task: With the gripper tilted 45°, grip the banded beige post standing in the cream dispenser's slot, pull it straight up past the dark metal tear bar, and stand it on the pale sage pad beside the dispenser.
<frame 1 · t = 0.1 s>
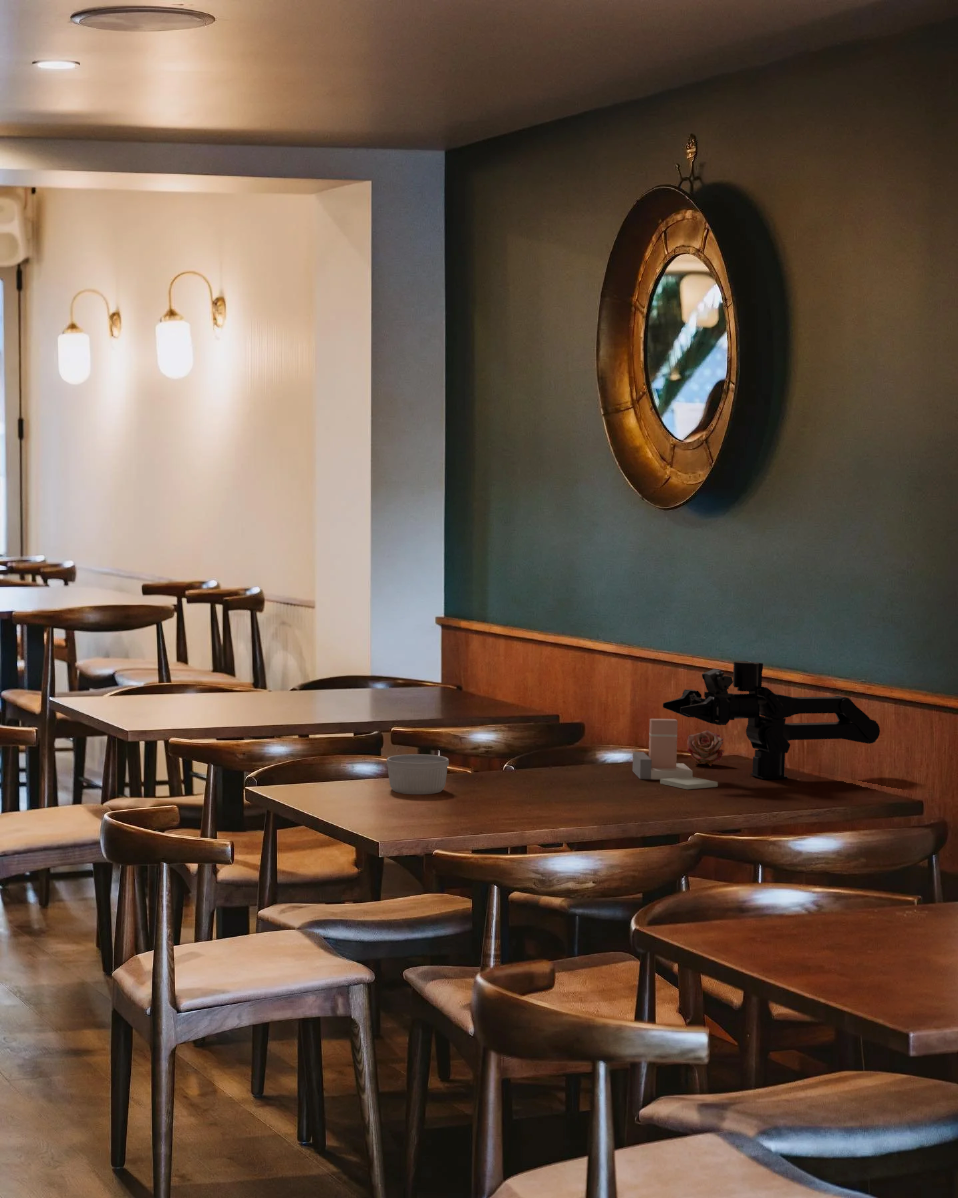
hand: (671, 707, 367), 17 cm above the table, tool horizontal, fingers open, 9 cm apart
pad: (688, 785, 362), on the table
flower: (704, 765, 394), on the table
ramekin: (416, 791, 345), on the table
banded beige post: (662, 775, 375), resting in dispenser
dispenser: (662, 775, 375), on the table
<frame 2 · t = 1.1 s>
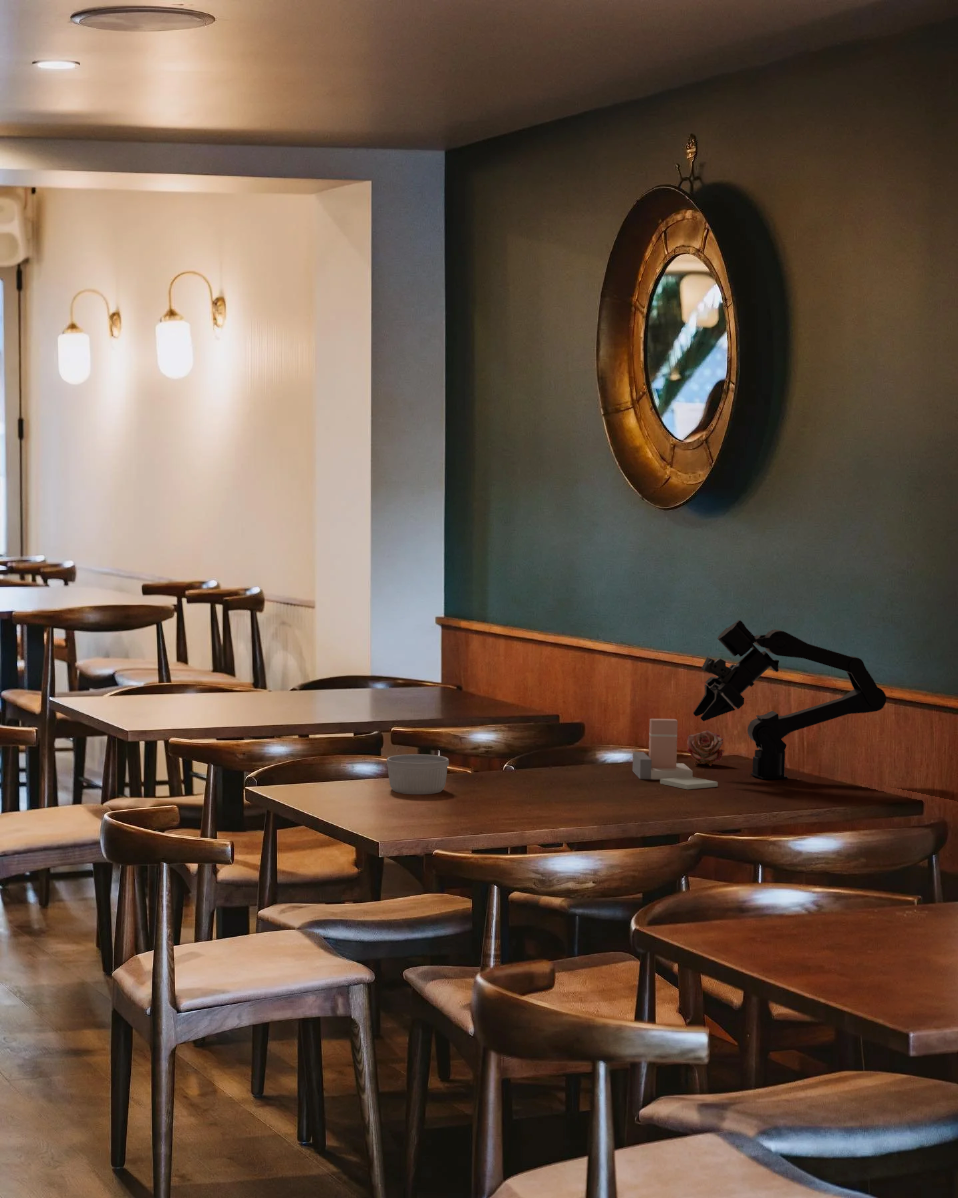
hand: (698, 717, 374), 14 cm above the table, tool tilted 45°, fingers open, 9 cm apart
nothing on the table moved.
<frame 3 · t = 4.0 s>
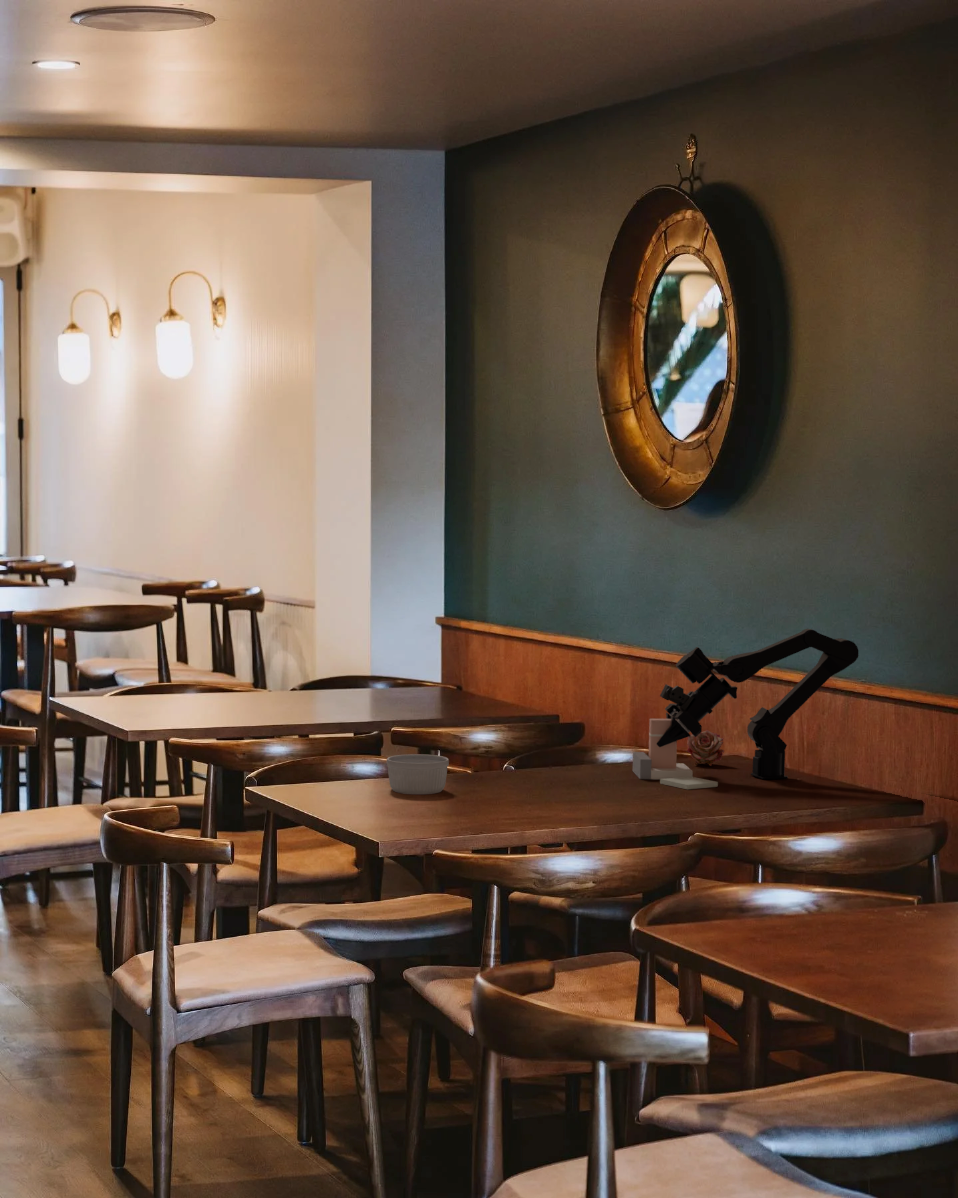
hand: (656, 744, 374), 7 cm above the table, tool tilted 45°, fingers closed on banded beige post, 3 cm apart
banded beige post: (662, 775, 375), resting in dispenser, touching gripper
everything else where it was.
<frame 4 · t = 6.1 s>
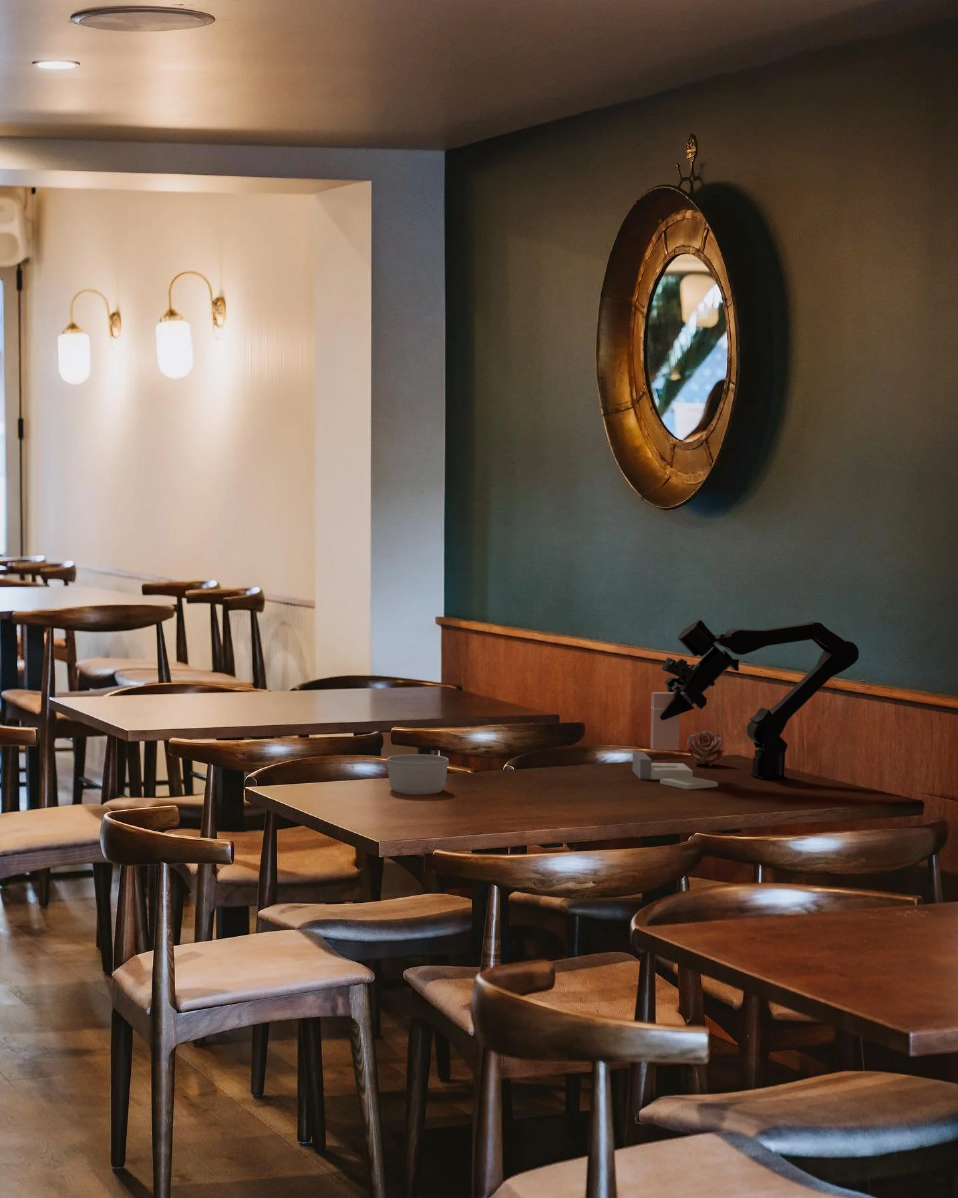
hand: (659, 718, 372), 14 cm above the table, tool tilted 45°, fingers closed on banded beige post, 3 cm apart
banded beige post: (664, 749, 373), point 6 cm above the table, touching gripper
everything else where it was.
when the fingers open (9 cm above the table, at t = 8.3 s): banded beige post drops 1 cm, resting on pad.
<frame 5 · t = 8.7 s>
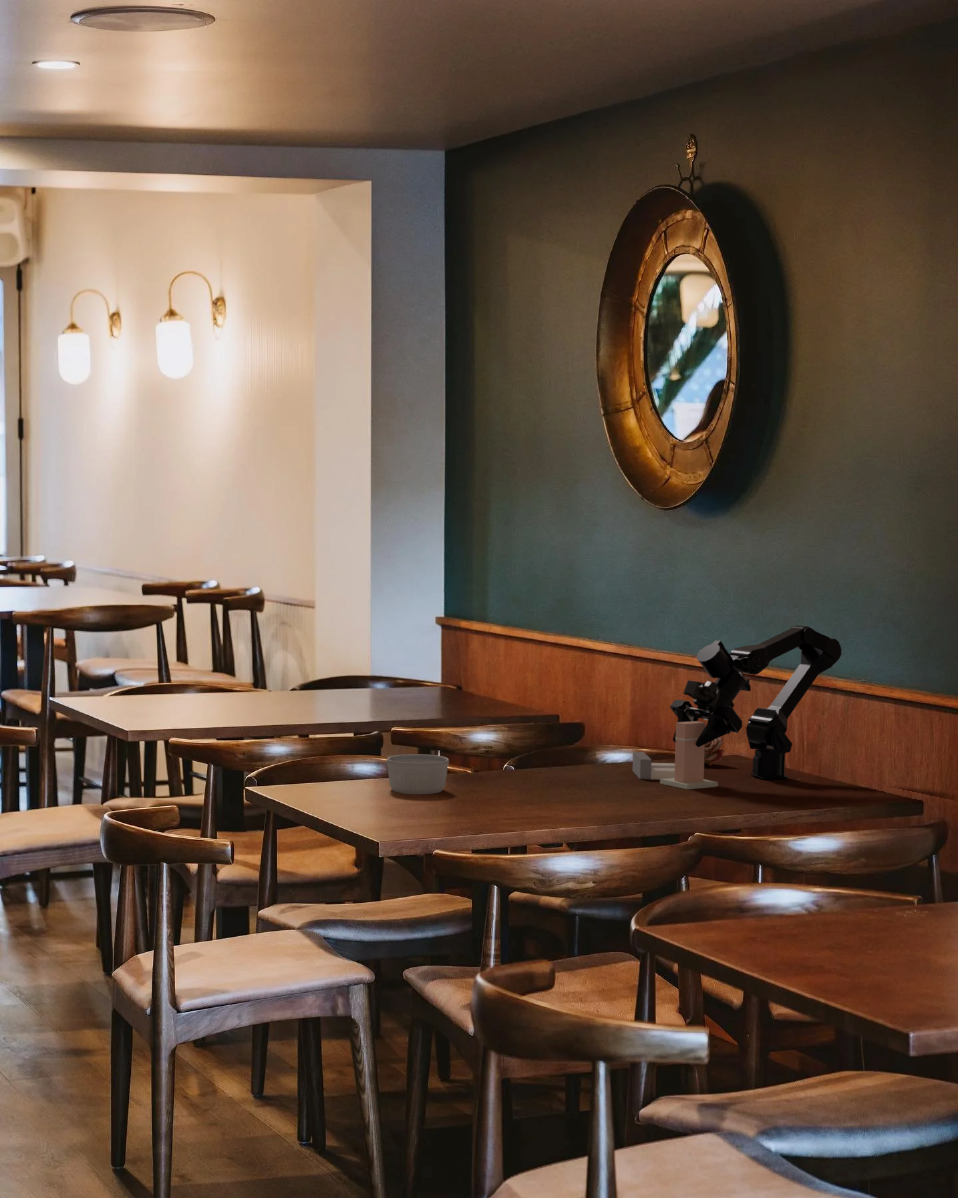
hand: (685, 743, 360), 9 cm above the table, tool tilted 45°, fingers open, 7 cm apart
banded beige post: (688, 780, 361), point 1 cm above the table, touching pad
everything else where it was.
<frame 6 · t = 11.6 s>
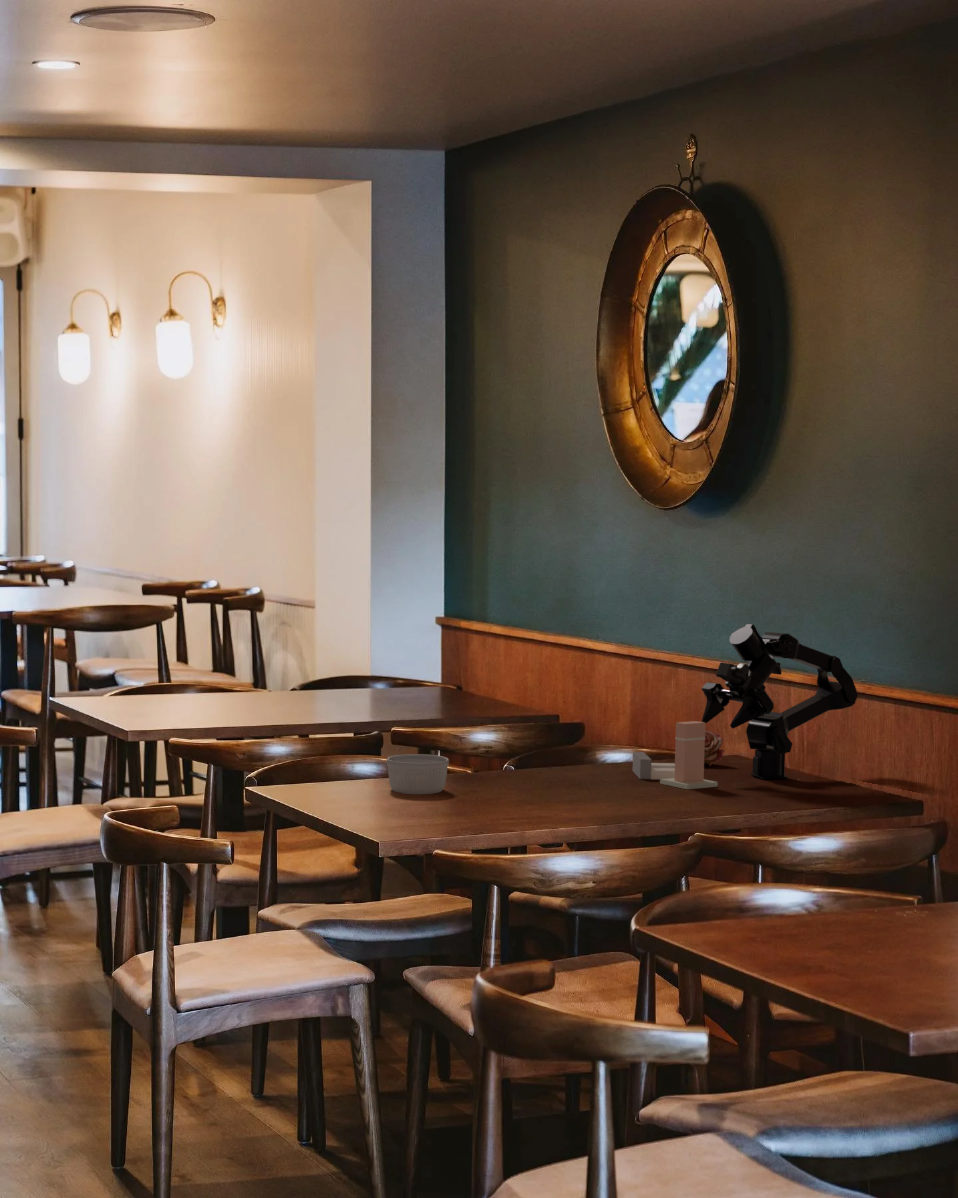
hand: (717, 724, 365), 13 cm above the table, tool tilted 45°, fingers open, 9 cm apart
nothing on the table moved.
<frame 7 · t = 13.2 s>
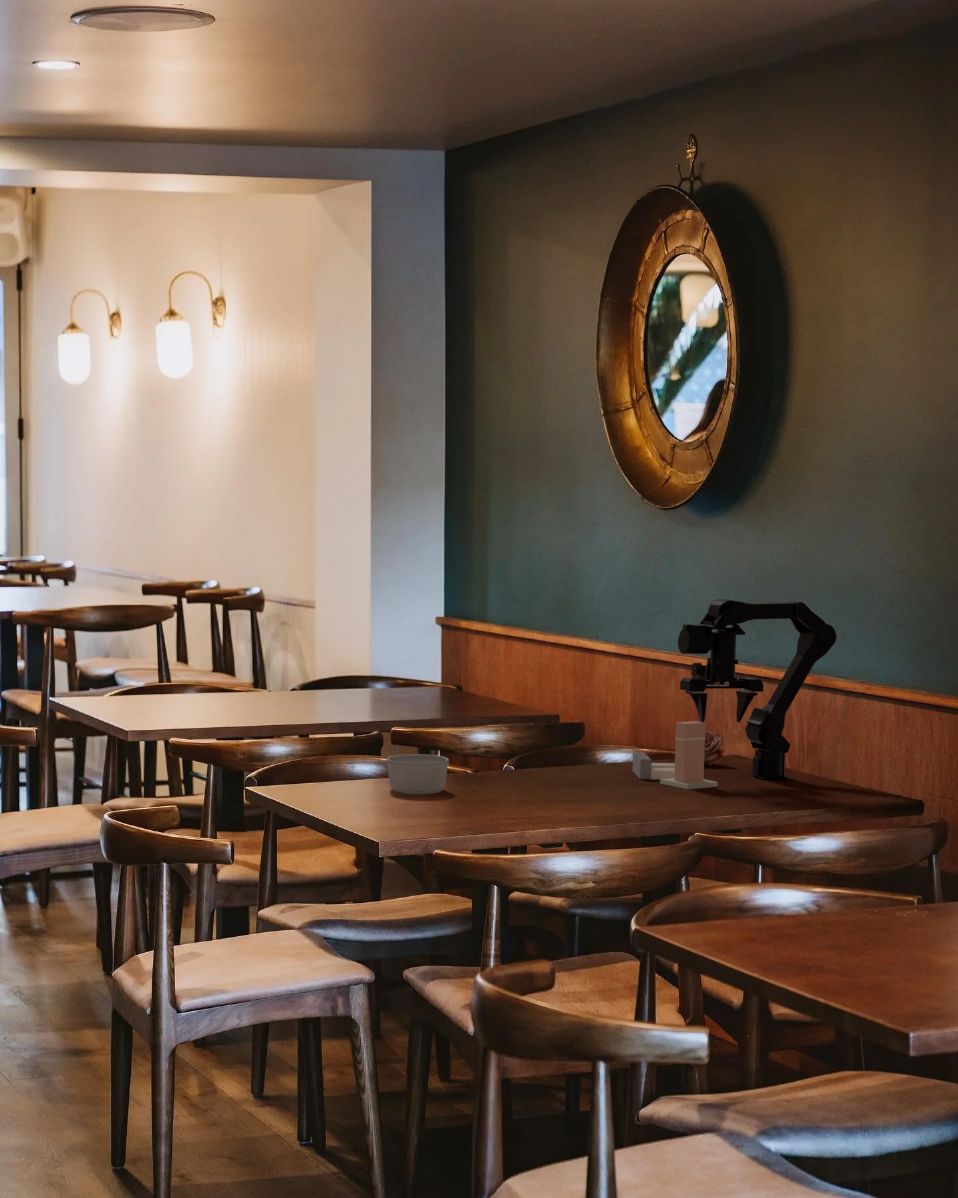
hand: (720, 722, 371), 13 cm above the table, tool pointing down, fingers open, 9 cm apart
nothing on the table moved.
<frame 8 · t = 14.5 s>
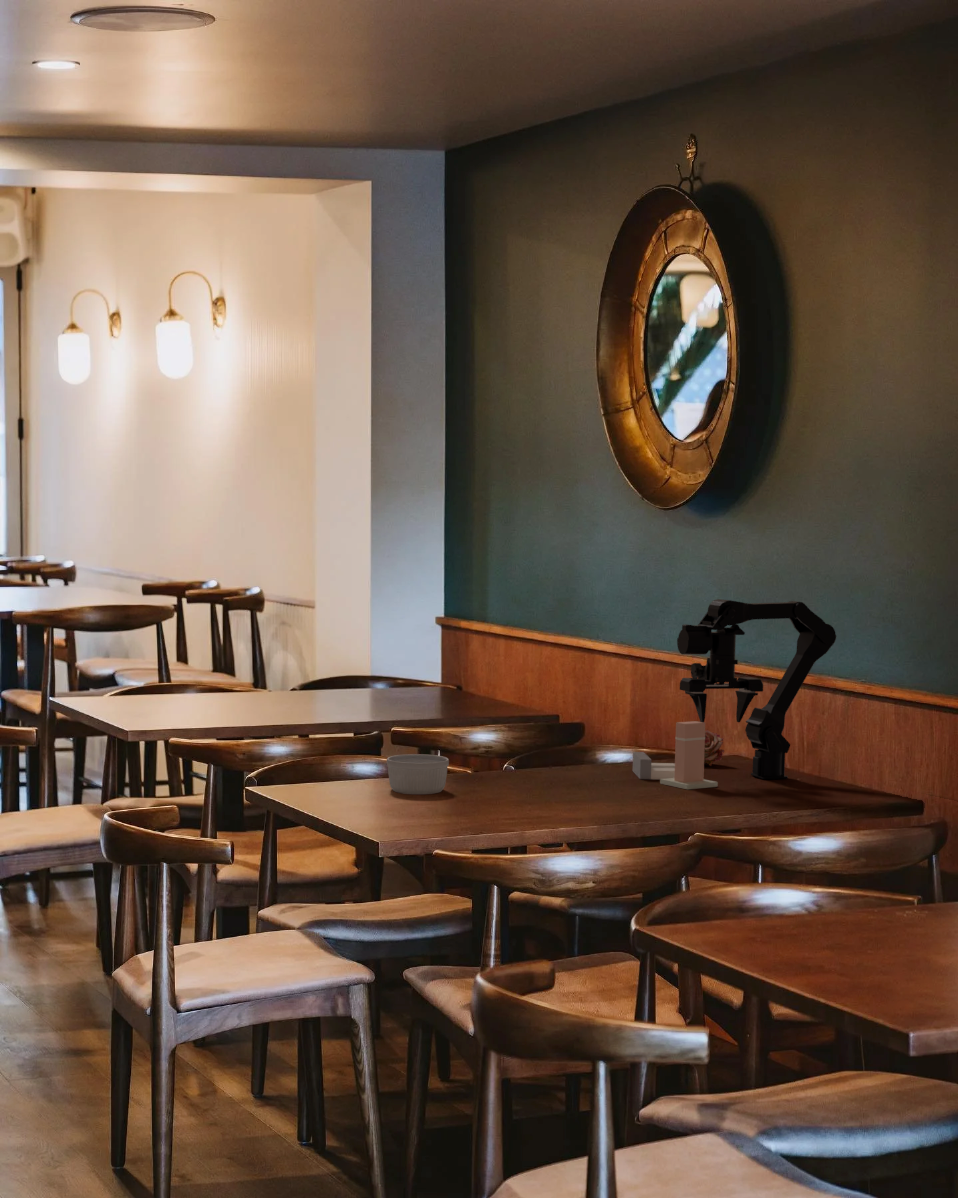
hand: (720, 722, 371), 13 cm above the table, tool pointing down, fingers open, 9 cm apart
nothing on the table moved.
at the end: banded beige post inside the target area on the pad (0.0 cm from its centre), point 1.0 cm above the pad's base; banded beige post tilted 0°; the gripper is holding nothing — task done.
